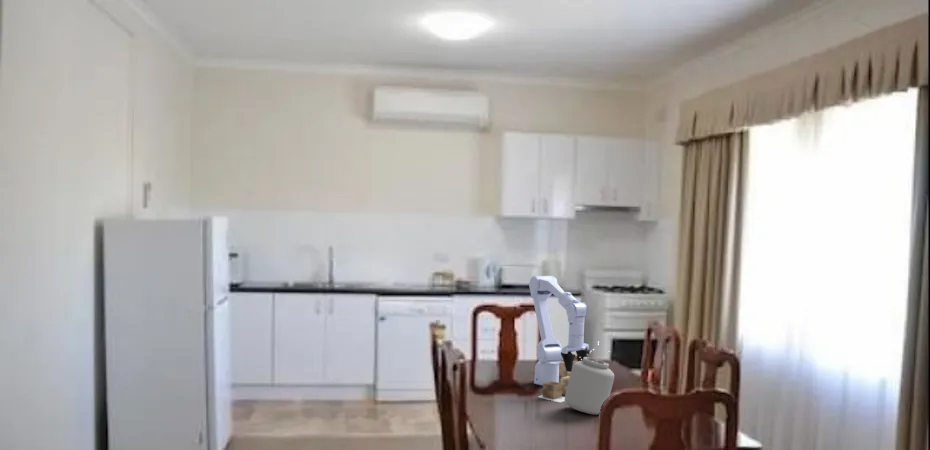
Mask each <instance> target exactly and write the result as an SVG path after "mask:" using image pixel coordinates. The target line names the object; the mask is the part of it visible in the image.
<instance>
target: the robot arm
mask: <svg viewBox="0 0 930 450" xmlns="http://www.w3.org/2000/svg"><path fill="white" fill-rule="evenodd" d="M528 286H529V293H530V297H531V298H532V301H533V305H534V310H535V315H536V316H535V317H536V320H537V326H538V330H539V335H540V339H541V340H540V341H539V342H538V343H537V344H536V357H537V360H538V361H537V362H536V364H535V366H534V379H533V380H534V382H533V381H532V383H533V384H536V385H538V386H543V383H546V382H550V381H553V382H557V383H560V382H559V381H560V380H559V379H560V376H559V363H561V361H562V360H564V363H565V367H566V371H569V372H571V371H572V366H573V361H574V358H575V355H576V356H577V362H578V361H583V358H584V357H589V355H590V354H591V349H590V348H589V347H590V343H585V342H584V340H585V337H584V334H585V318H587V316H588V315H589V308H588V306H587V304H586V302H584V301H582V302H581V301H579V300H578V299H576V297H574V296H573V294H572V292H569V291H564V290H563V288H562V287H561V286H560V285H559V284H558V279H557V277H555V276H554V275H533V276H532V277H531V278H530V279H529V283H528ZM552 294H553V296H555V297H556V298H557V301H558V302H557V303H559V305H561V307H562V308H564V310H565V311H566V316H567V321H568V343H567V345H566V346H563V347H562V344H561V341H560V340H559V339H557V338H556V337H555V334H554V330H553V325H552V320H551V317H550V312H549V306H548V301H547V300H548V299H549V298H550V297H551V296H552ZM573 352H575V354H574V353H573ZM581 359H582V360H581Z"/></svg>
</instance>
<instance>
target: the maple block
mask: <svg viewBox="0 0 930 450" xmlns="http://www.w3.org/2000/svg"><path fill="white" fill-rule="evenodd" d="M569 379H570V377H569V376H567V377H562V376H561V377H560V383H561V384H562V395H566V391H567V387H568V383H569Z"/></svg>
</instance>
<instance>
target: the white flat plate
mask: <svg viewBox="0 0 930 450" xmlns="http://www.w3.org/2000/svg"><path fill="white" fill-rule="evenodd" d="M537 398H538V399H539V398H540V399H543V400H547V401H550V400H551V402H555V403H557V404H559V403H564V402H565V396H562V397H560V398H557V399H550V398H546V397H543V394H542V395H538V396H537Z"/></svg>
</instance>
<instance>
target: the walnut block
mask: <svg viewBox="0 0 930 450" xmlns="http://www.w3.org/2000/svg"><path fill="white" fill-rule="evenodd" d="M542 395H543V397H546V398H550V399H557V398H560V397H563V396H562V395H563V394H562V384H561V382H559V383H557V382H553V381H550V382H546V383H543V385H542Z"/></svg>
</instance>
